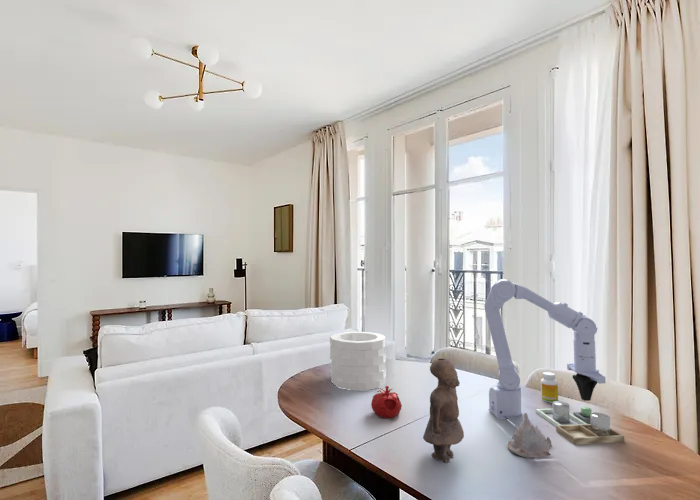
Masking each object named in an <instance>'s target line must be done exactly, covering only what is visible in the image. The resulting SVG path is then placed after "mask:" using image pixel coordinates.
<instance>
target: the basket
mask: <svg viewBox="0 0 700 500" xmlns="http://www.w3.org/2000/svg"><path fill="white" fill-rule="evenodd" d="M329 345H330V348H329V349H330V352H329V357H330V358H329V359H330V360H331V362H330V371H329V372H330V373H329V374H330V379H331V381H330V382H332V383H334V384H335V385H337V386H338V387H341V388H346V389H350V390H368V391H370V390H369V389H373V390H375V389H374V388H377V389H380V388H381V387H380V386H382V385H383V384H385V383H386V384H387V362H386V361H387V351H386V345H387V337H386V336H385V335H384V334H383V333H377V332H372V331H371V332H370V331H345V332H344V331H343V332H338V333H334V334H332V335H330V336H329ZM386 384H385V385H386ZM383 386H384V385H383ZM383 386H382V387H383ZM379 387H380V388H379Z"/></svg>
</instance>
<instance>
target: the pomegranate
mask: <svg viewBox="0 0 700 500" xmlns="http://www.w3.org/2000/svg"><path fill="white" fill-rule="evenodd" d="M384 386H385V387H384V388H385V390H384V389H383V388H380V389H379V390H377V391H375V392H374V393H376V394H374V395H373V396H372V399H371V405H370V406H371V409H372V412H374V414H375V415H376V416H378V417H379V418H383V419H393V418H395V417H397V416H399V414H400V412H401V410H402V406H403V405H402V402H401V400H400V398H399V396H398V395H399V393H396V392H393V388H390V389H389V385H384ZM391 391H392V392H391Z"/></svg>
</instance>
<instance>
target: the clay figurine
mask: <svg viewBox="0 0 700 500" xmlns="http://www.w3.org/2000/svg"><path fill="white" fill-rule="evenodd" d="M429 371H430V373H431V374H432V375H433V376H434V377H435V378H437V386H436V388H435V389H433V390H432V392H431V393H430V395H429V418H428V421H427V424H426V427H425V430H424V432H423V436H422V439H423V440H424V441H425V442H426V443H428V444H429V445H432V446H433V452H432V453H431V457H432V458H433V459H435V460H439V461H442V462H444V463H445V464H446V463H447V464H448V463H449V462H450V461H451V458H452V457H454V452H453V450H452V449H451V447H452V445H457V444H459V443H461V442H462V441H463V439H464V437H465V436H464V435H465V433H464V429H463V426H462V424H461V421H460V420H459V416H460V409H459V405H458V394H457V387H459V386H460V379H458V378H459V377H458V372H457V370H456V368H455V366H454V363H452V362H451V361H450V360H449V359H446V358H436V359H435V360H434V361H433V362H432V363H431V364H430V366H429Z"/></svg>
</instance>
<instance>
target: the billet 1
mask: <svg viewBox="0 0 700 500" xmlns="http://www.w3.org/2000/svg"><path fill="white" fill-rule="evenodd" d="M551 404H552V405H551V407H552V409H553V413H552V419H553V420H555V421H556V422H558V423H559V424H560V423H561V424H569V423H570V421H571V420H570V419H571V418H570V404H569V403H568V402H565V401H559V400H558V401H554V402H552V403H551Z"/></svg>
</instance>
